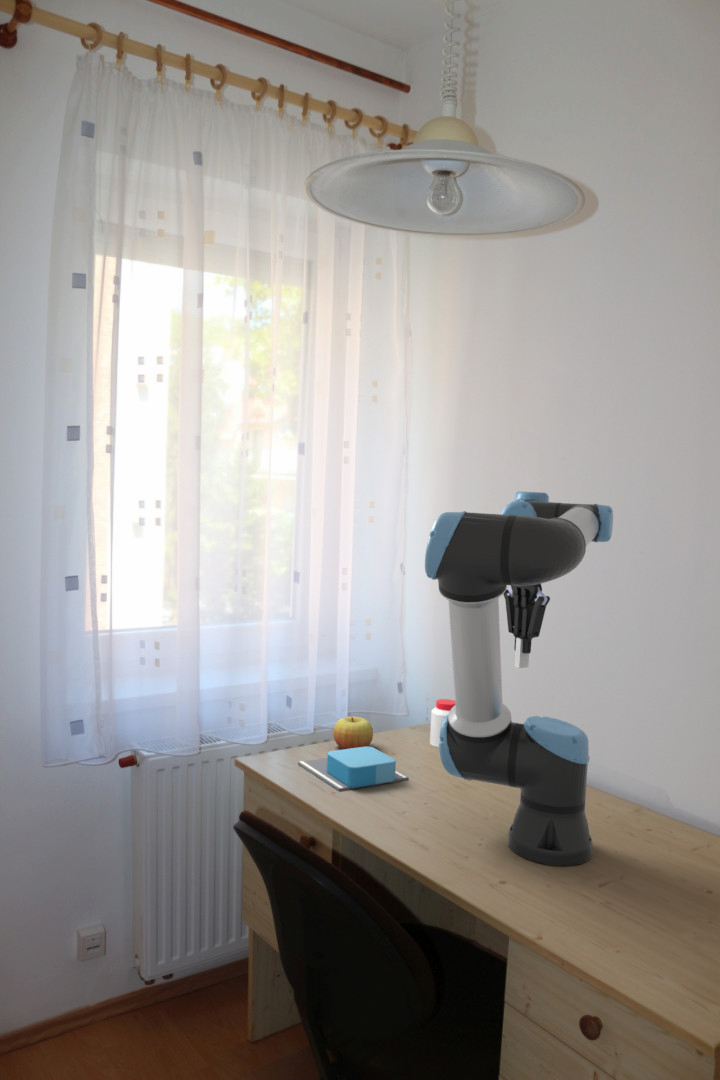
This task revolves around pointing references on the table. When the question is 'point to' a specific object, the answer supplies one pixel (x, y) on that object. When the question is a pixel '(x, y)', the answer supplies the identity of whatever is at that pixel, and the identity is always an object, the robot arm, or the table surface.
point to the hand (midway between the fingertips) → (521, 666)
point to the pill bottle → (439, 719)
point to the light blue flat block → (361, 766)
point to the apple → (352, 732)
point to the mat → (320, 771)
